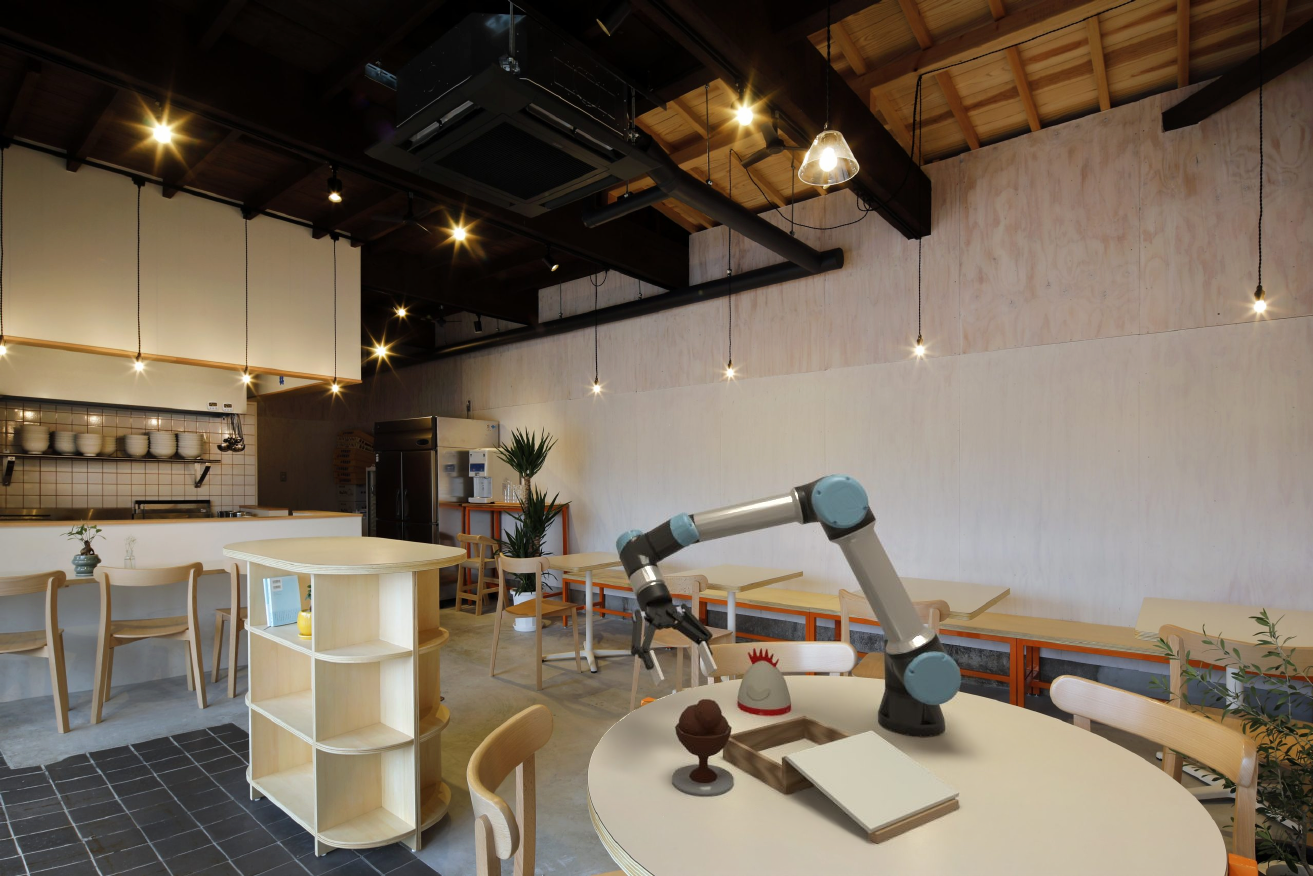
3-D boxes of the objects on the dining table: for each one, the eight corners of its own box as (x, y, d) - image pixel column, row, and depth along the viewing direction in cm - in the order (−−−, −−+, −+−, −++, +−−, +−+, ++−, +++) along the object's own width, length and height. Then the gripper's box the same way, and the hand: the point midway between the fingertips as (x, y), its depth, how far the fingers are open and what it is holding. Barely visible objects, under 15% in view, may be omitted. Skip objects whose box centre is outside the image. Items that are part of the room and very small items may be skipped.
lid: (962, 807, 116) (960, 765, 116) (873, 845, 103) (872, 799, 104) (871, 766, 133) (870, 730, 133) (785, 795, 120) (785, 755, 121)
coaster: (744, 778, 127) (744, 774, 127) (715, 802, 117) (715, 798, 117) (692, 763, 134) (692, 759, 134) (660, 785, 124) (660, 781, 124)
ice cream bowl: (736, 769, 129) (735, 692, 130) (723, 794, 119) (723, 710, 120) (685, 761, 133) (685, 687, 134) (668, 785, 122) (669, 703, 123)
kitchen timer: (745, 695, 178) (745, 640, 179) (795, 702, 172) (795, 645, 174) (731, 711, 165) (731, 651, 166) (784, 719, 160) (784, 657, 161)
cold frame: (871, 766, 133) (871, 733, 133) (785, 795, 120) (785, 759, 121) (804, 736, 149) (804, 707, 149) (722, 758, 136) (722, 726, 137)
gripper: (687, 595, 156) (725, 676, 144) (596, 606, 143) (629, 696, 130) (701, 577, 152) (741, 659, 139) (609, 586, 139) (643, 678, 126)
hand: (687, 677), depth 135 cm, fingers open, 13 cm apart
